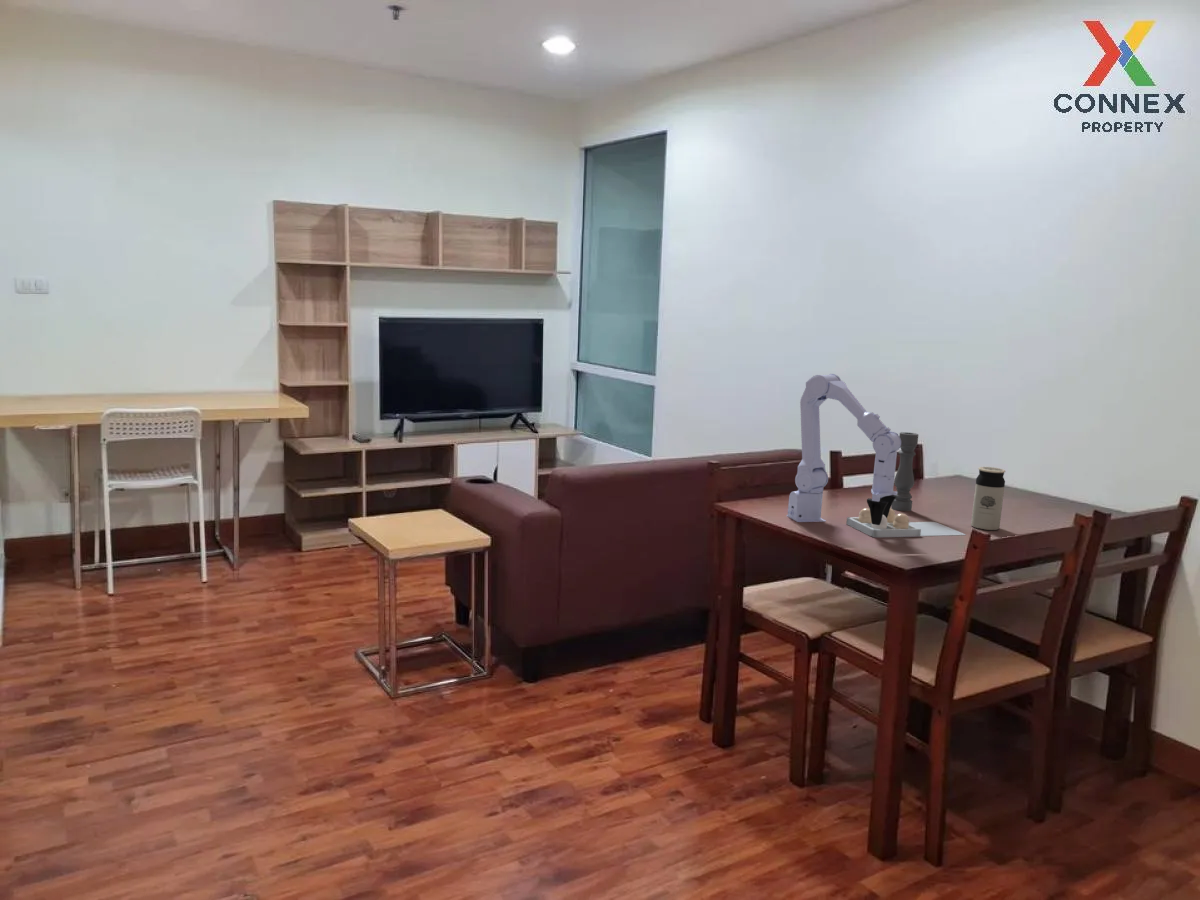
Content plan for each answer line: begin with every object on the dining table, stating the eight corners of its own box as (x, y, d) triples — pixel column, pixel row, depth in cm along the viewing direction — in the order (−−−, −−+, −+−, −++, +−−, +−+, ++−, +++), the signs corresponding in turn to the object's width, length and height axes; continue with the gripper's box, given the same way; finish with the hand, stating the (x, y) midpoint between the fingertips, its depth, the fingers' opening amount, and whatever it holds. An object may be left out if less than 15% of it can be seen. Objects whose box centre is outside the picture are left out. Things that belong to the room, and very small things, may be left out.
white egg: (875, 535, 255) (877, 515, 254) (867, 531, 259) (869, 512, 258) (888, 535, 256) (890, 515, 255) (880, 531, 260) (882, 512, 259)
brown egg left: (862, 529, 262) (864, 509, 261) (855, 525, 266) (857, 506, 265) (875, 528, 263) (877, 509, 262) (868, 525, 267) (869, 506, 266)
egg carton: (873, 539, 253) (873, 530, 253) (846, 525, 267) (846, 517, 267) (966, 536, 261) (966, 528, 260) (934, 523, 275) (935, 515, 274)
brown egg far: (884, 528, 264) (886, 509, 263) (876, 524, 268) (878, 506, 267) (897, 528, 265) (898, 509, 264) (889, 524, 269) (891, 506, 268)
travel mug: (975, 522, 278) (982, 465, 276) (1002, 527, 274) (1009, 469, 271) (967, 527, 272) (974, 468, 269) (994, 532, 267) (1001, 472, 264)
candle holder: (907, 508, 295) (914, 432, 290) (914, 512, 289) (922, 435, 284) (888, 507, 294) (896, 431, 290) (895, 512, 288) (903, 434, 284)
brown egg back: (897, 534, 257) (899, 515, 256) (889, 531, 261) (891, 511, 260) (910, 534, 258) (912, 515, 257) (902, 530, 262) (904, 511, 261)
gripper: (892, 481, 247) (887, 529, 249) (904, 473, 259) (899, 519, 261) (866, 477, 250) (861, 524, 253) (879, 470, 263) (874, 515, 265)
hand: (879, 521), depth 257 cm, fingers open, 7 cm apart
